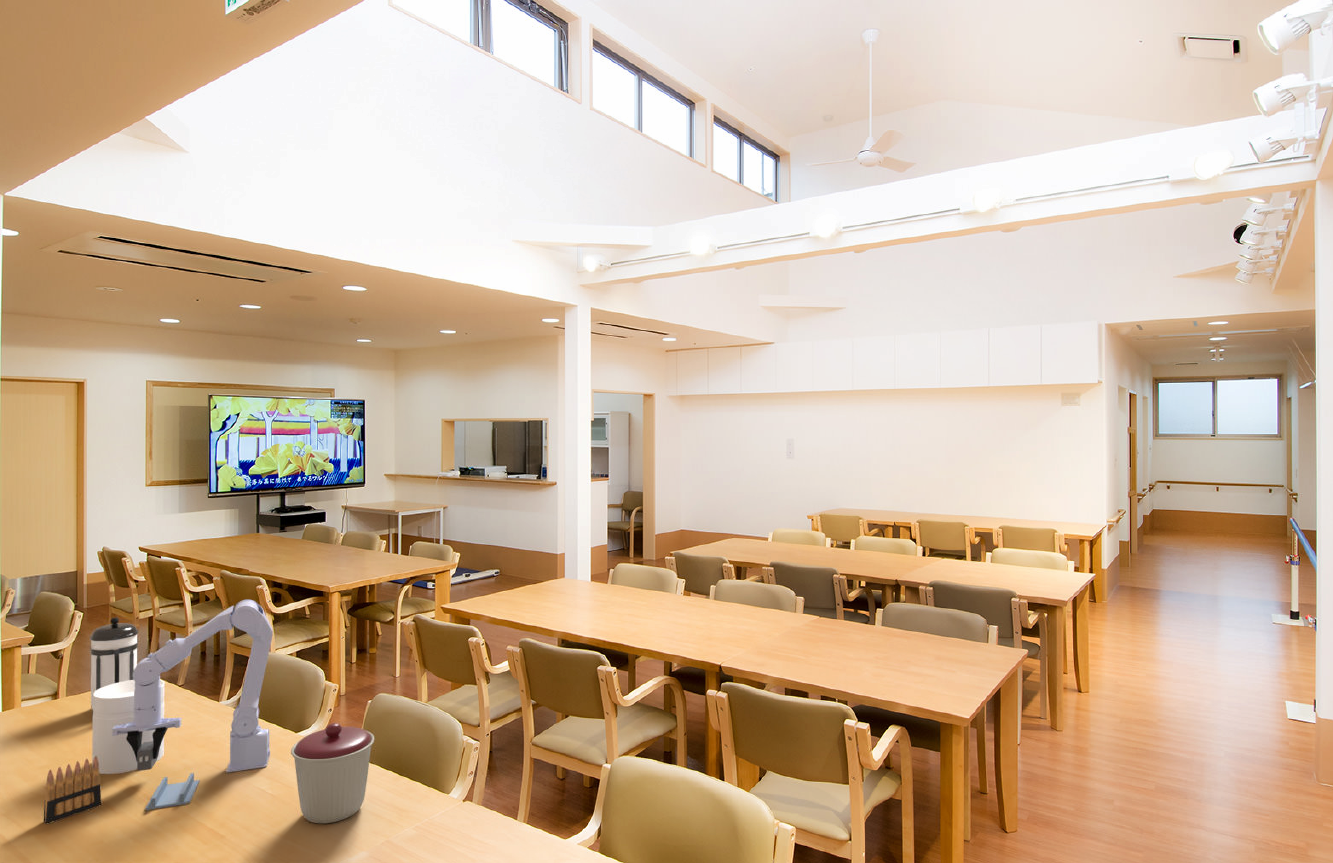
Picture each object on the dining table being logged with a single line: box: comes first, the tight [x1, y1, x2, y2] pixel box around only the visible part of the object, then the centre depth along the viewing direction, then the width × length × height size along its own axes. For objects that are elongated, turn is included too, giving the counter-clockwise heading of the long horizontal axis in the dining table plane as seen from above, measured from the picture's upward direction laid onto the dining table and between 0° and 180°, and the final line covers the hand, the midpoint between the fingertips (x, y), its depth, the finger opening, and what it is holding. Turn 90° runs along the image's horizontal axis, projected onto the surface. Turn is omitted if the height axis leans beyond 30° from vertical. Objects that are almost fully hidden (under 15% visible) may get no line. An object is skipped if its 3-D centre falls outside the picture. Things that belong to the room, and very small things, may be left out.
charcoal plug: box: [137, 741, 158, 772], centre depth 190 cm, size 3×7×5 cm, turn 22°
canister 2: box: [290, 722, 375, 824], centre depth 175 cm, size 18×18×21 cm
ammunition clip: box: [43, 756, 102, 825], centre depth 175 cm, size 11×2×12 cm, turn 146°
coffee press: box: [89, 617, 140, 710], centre depth 241 cm, size 17×16×30 cm
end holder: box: [144, 772, 200, 811], centre depth 183 cm, size 9×12×3 cm
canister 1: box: [91, 679, 165, 775], centre depth 203 cm, size 16×16×20 cm
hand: (147, 758), depth 190 cm, fingers closed on charcoal plug, 3 cm apart
